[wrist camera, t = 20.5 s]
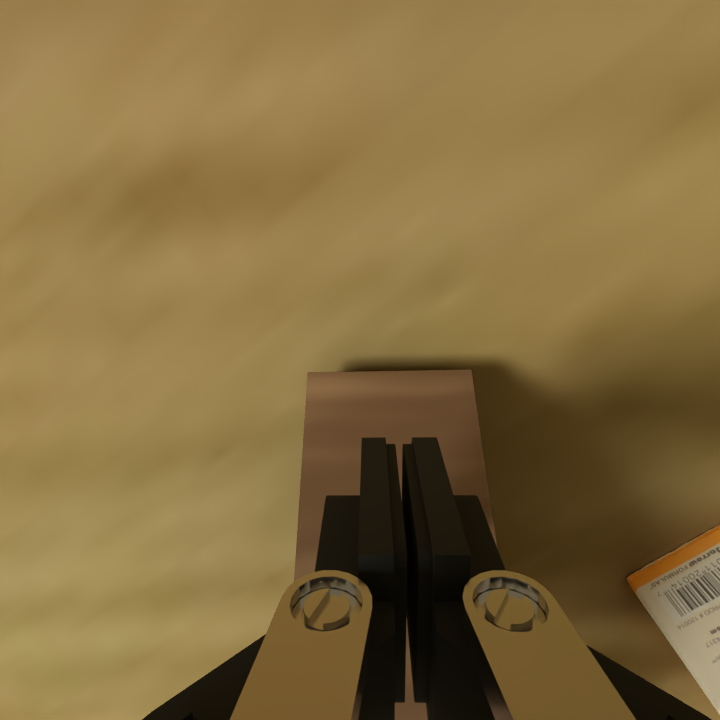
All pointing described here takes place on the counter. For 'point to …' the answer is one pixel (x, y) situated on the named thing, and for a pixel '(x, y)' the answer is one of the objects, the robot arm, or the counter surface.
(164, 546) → the counter surface
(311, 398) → the domino
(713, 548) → the supplement box
